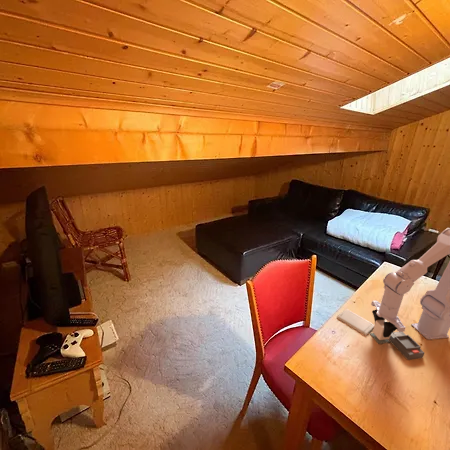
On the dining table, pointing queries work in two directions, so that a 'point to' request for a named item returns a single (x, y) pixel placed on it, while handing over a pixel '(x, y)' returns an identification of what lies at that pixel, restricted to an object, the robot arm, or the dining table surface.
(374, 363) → the dining table surface
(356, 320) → the hard drive
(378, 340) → the coaster
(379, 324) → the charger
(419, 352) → the gray recessed box
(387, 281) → the robot arm
